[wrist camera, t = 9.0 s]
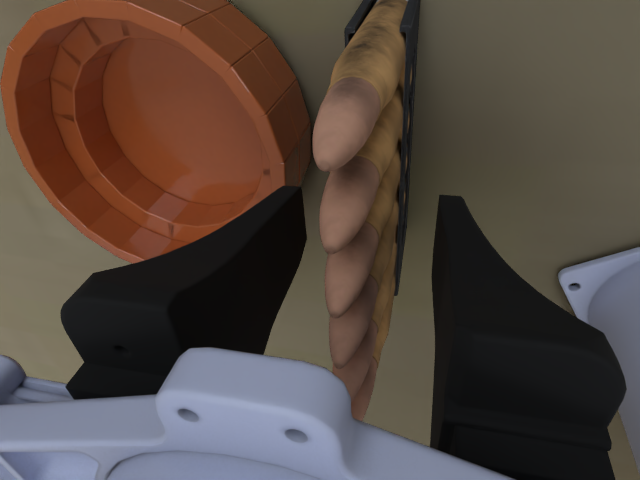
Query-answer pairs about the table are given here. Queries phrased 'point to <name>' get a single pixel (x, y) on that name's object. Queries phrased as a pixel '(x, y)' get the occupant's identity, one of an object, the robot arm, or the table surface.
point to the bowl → (152, 118)
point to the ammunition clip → (366, 185)
